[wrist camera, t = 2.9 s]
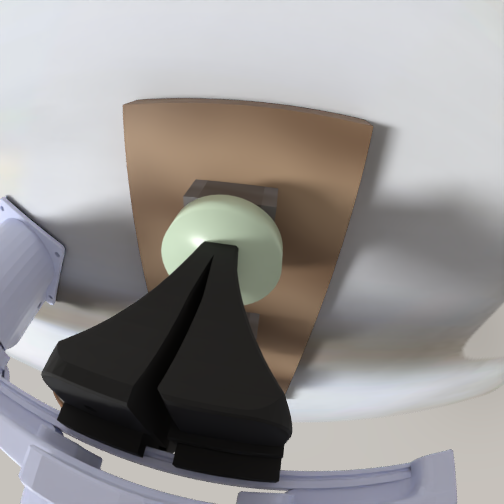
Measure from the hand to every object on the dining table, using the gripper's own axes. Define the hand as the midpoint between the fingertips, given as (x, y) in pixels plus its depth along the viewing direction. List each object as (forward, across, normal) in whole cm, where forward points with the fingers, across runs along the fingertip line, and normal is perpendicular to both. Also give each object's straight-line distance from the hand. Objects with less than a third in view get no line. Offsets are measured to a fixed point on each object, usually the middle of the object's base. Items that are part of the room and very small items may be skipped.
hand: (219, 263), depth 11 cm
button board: (+5, 0, +8) cm, 10 cm away
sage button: (+3, 0, 0) cm, 3 cm away
